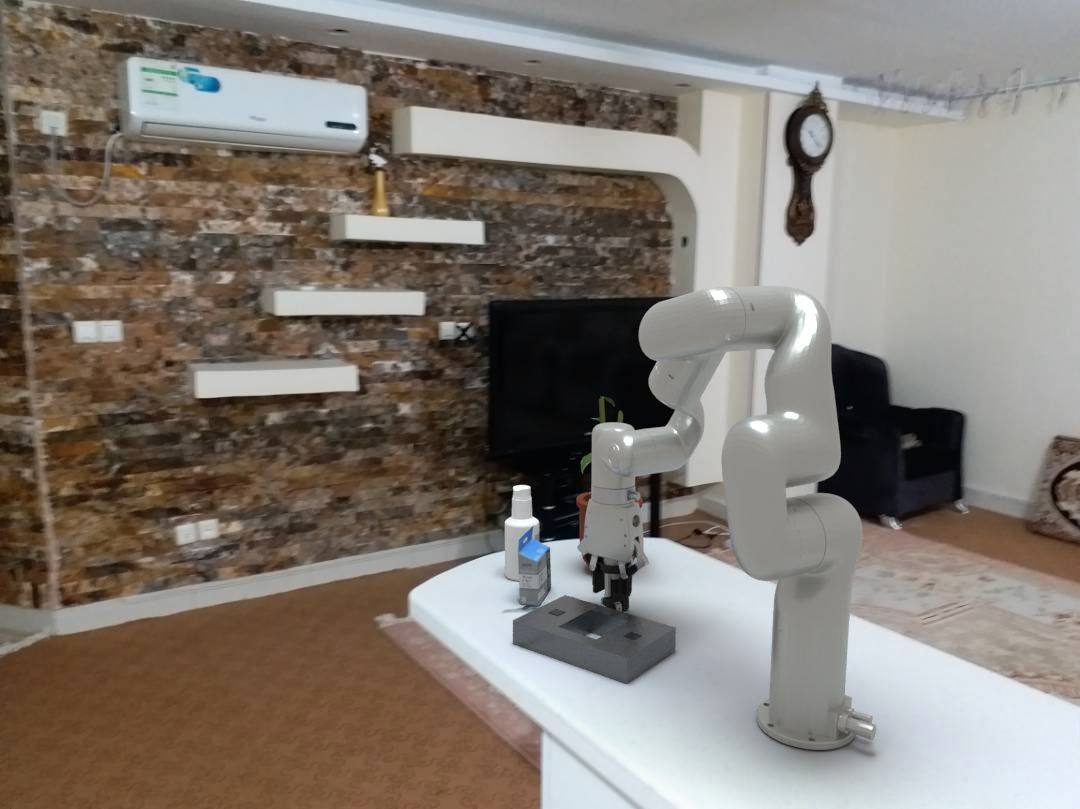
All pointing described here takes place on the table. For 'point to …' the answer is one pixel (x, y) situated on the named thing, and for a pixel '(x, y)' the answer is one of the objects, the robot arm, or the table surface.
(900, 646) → the table surface
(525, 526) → the spray bottle
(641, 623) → the gray pocketed block
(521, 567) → the label tape box
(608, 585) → the push button
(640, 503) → the potted plant
